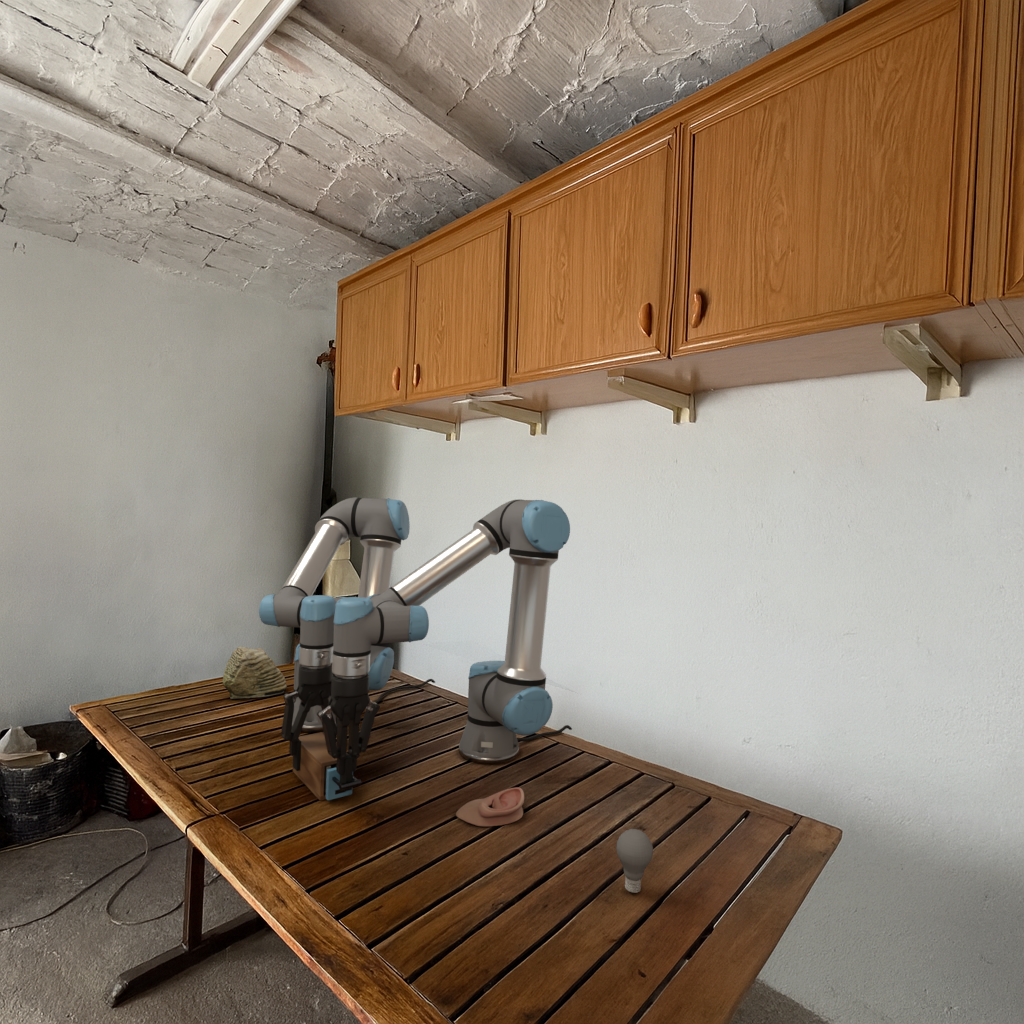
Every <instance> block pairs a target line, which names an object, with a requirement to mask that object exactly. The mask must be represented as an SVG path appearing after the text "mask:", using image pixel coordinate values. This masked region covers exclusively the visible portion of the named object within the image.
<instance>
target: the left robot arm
mask: <svg viewBox="0 0 1024 1024" xmlns="http://www.w3.org/2000/svg"><path fill="white" fill-rule="evenodd" d="M410 525H411V524H410V515H409V511H408V507H407V505H406V504H405V502H404V501H402V500H401V499H392V498H372V497H370V498H368V497H356V496H355V497H348V498H346V499H342V500H341V501H339V502H337V503H336V504H333V505H332V506H331V507H330V508H328V509H327V510H326V511H325V512H324V513H323V514H322V515H321V516H320V518H319V519H318V521H317V522H316V524H315V526H314V534H313V536H312V537H311V539H310V541H309V542H308V544H307V545H306V548H304V551H303V552H302V554H301V556H300V558H299V559H298V561H297V563H296V564H295V565H294V567H293V569H292V571H291V572H290V574H289V576H288V577H287V579H286V580H285V582H284V584H283V585H282V587H281V589H280V590H279V592H278V593H277V594H276V593H273V594H267V595H264V596H263V598H262V599H261V601H260V603H259V608H258V615H259V618H260V621H261V623H262V624H264V625H267V626H272V627H277V628H280V627H281V628H282V627H283V628H284V627H285V628H299V630H300V633H299V643H298V644H297V645H296V647H295V652H294V653H295V654H294V659H293V661H294V672H293V692H291V693H288V692H286V693H283V701H284V710H283V716H282V717H283V719H282V726H281V731H280V732H281V733H280V737H281V738H282V739H283V740H284V741H285V742H289V749H288V753H289V755H291V756H292V769H293V768H294V769H295V770H296V771H299V770H300V763H301V741H300V740H299V739H298V738H299V737H300V736H301V733H319V732H324V731H323V726H322V721H321V720H320V719H319V717H318V716H317V712H318V711H320V710H321V711H323V710H324V709H325V708H327V707H328V703H329V701H330V699H331V680H332V676H333V675H334V674H333V673H332V659H333V643H334V623H333V621H334V616H335V607H336V603H337V601H338V600H340V599H342V598H346V597H347V596H335V597H334V596H331V595H323V594H319V595H318V594H317V595H315V594H314V593H315V592H316V589H317V587H319V584H320V583H321V580H322V579H323V577H324V575H325V573H326V571H327V570H328V568H329V566H330V565H331V562H332V561H333V559H334V557H335V555H336V553H337V551H338V550H339V548H340V546H342V545H344V544H345V543H346V542H347V541H348V539H350V538H360V539H359V543H360V544H361V546H362V547H363V548H364V550H363V558H362V563H361V572H360V580H359V587H358V592H357V593H358V594H357V595H358V596H357V597H364V598H367V597H369V596H371V595H374V594H381V593H383V592H384V591H386V590H387V589H389V588H390V587H391V584H392V575H393V568H394V567H393V566H394V561H395V560H394V559H395V553H396V551H397V550H398V549H400V548H401V547H402V541H405V540H408V538H409V535H410ZM389 644H390V643H379V644H371V653H370V671H369V672H368V673H367V674H368V675H369V691H375V692H377V691H380V690H382V689H383V688H384V687H385V686H386V685H387V684H388V682H389V680H390V677H391V675H392V672H393V668H394V663H395V652H394V649H392V648H391V647H389V646H390V645H389ZM430 682H432V683H433V684H435V683H436V681H435V680H434V679H433V678H428V679H427V680H425V681H424V682H422V683H419V684H413V685H405V686H404V685H403V686H398V687H394V688H391V689H388V690H386V691H385V692H383V693H381V694H380V695H379V696H378V698H377V699H376V700H374V701H373V702H375V703H377V704H378V703H380V702H381V700H382V699H383V697H385V696H386V695H388V694H390V693H392V692H397V691H400V690H408V689H417V688H422V687H424V686H425V685H428V683H430ZM331 715H332V718H331V719H330V720H331V722H332V726H333V731H334V736H335V741H336V742H337V717H336V716H335V715H334V713H333V712H331Z"/></svg>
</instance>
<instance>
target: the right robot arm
mask: <svg viewBox="0 0 1024 1024" xmlns="http://www.w3.org/2000/svg"><path fill="white" fill-rule="evenodd" d="M570 534H571V524H570V518H569V517H568V515H567V513H566V512H565V510H564V509H563V508H562V507H561V506H560V505H559V504H557V503H555V502H553V501H548V500H544V499H513V500H509V501H507V502H505V503H503V504H501V505H499V506H498V507H496V508H494V509H493V510H491V511H490V512H489V513H487V514H486V515H484V516H482V517H481V518H480V519H479V520H477V521H475V522H474V523H473V527H472V529H471V530H469V532H467V533H466V534H464V535H463V536H462V537H460V538H459V539H457V540H456V541H455V542H453V543H451V544H450V545H449V546H447V547H446V548H444V549H443V550H442V551H440V552H438V553H437V554H436V555H434V556H433V557H432V558H431V559H429V560H427V561H426V562H425V563H423V564H422V565H420V566H419V567H418V568H416V569H415V570H413V571H412V572H410V573H409V574H408V575H406V576H405V577H403V578H401V579H400V580H399V581H398V582H396V583H395V584H393V585H392V586H390V588H389V589H387V590H386V591H384V592H383V593H381V594H374V595H371V596H369V597H367V598H364V597H358V596H348V597H347V596H345V597H346V598H342V599H340V600H338V601H337V603H336V607H335V616H334V621H333V623H334V643H333V659H332V673H333V674H334V675H333V676H332V680H331V699H330V701H329V703H328V707H327V708H325V709H324V710H323V711H321V710H320V711H318V712H317V716H318V717H319V719H320V720H321V721H322V726H323V731H322V732H323V733H324V736H325V741H326V746H327V751H328V754H329V755H330V756H331V757H333V758H337V766H336V767H337V768H336V771H337V773H338V774H339V775H340V782H341V783H346V782H350V781H352V774H353V775H354V772H356V771H357V769H358V759H359V758H360V756H361V755H360V754H361V753H365V752H366V751H367V749H368V744H369V741H370V737H371V733H372V730H373V726H374V723H375V718H376V715H377V714H378V713H379V710H380V709H381V706H380V705H379V704H378V703H375V702H374V701H373V700H371V697H370V694H369V691H370V690H369V675H368V674H367V673H368V672H369V671H370V653H371V644H379V643H389V644H391V643H392V644H395V643H412V642H418V641H422V640H424V639H425V638H426V637H427V635H428V632H429V627H430V626H429V625H430V619H429V614H428V611H427V609H426V608H425V607H424V606H422V604H424V603H426V601H427V602H428V601H429V600H430V599H431V598H432V597H434V596H435V595H436V594H438V593H439V592H440V591H442V590H443V589H445V588H446V587H447V586H449V585H450V584H451V583H453V582H454V581H456V580H457V579H458V578H460V577H461V576H463V575H464V574H465V573H467V572H468V571H469V570H471V569H472V568H474V567H475V566H476V565H478V564H479V563H481V562H482V561H483V560H485V559H486V558H487V557H489V556H490V555H493V556H497V555H499V554H500V553H501V552H503V551H505V550H507V549H508V550H509V551H508V556H509V557H510V558H511V560H512V561H513V563H514V564H513V565H514V566H513V575H512V584H511V593H510V606H509V615H508V624H507V625H508V626H507V633H506V634H507V635H506V646H505V655H504V660H484V661H477V662H475V663H472V664H471V666H470V667H469V674H468V689H467V690H468V692H467V693H468V694H467V695H468V696H467V720H466V724H465V726H464V729H463V732H462V735H461V737H460V740H459V744H458V753H459V755H460V757H462V758H463V759H465V760H466V761H469V762H471V763H476V764H482V765H500V764H505V763H509V762H512V761H514V760H515V759H517V757H519V754H520V745H519V742H530V741H533V740H536V739H538V738H542V737H547V736H554V735H560V734H561V733H563V732H564V731H565V730H567V729H568V730H570V731H571V730H573V728H572V727H571V726H570V725H568V724H566V725H564V726H563V727H561V728H560V729H558V730H554V731H546V732H541V733H539V731H541V730H542V728H543V727H545V726H546V724H547V723H548V722H549V720H550V718H551V716H552V713H553V706H554V704H553V699H552V697H551V695H550V693H549V692H548V690H546V684H547V683H546V682H547V673H546V672H545V670H543V668H542V657H543V648H544V639H545V637H544V636H545V629H546V617H547V607H548V597H549V589H550V577H551V567H552V566H553V565H554V564H555V563H557V561H558V560H559V552H560V550H561V549H563V548H564V545H566V544H567V543H568V541H569V538H570ZM331 712H333V713H334V715H335V716H336V717H337V735H336V741H335V736H334V731H333V726H332V722H331V720H330V719H331V718H332V715H331ZM363 713H364V714H363ZM362 714H363V719H362ZM360 724H361V725H360ZM537 732H538V733H537ZM533 734H534V735H533ZM517 735H518V736H529V737H517ZM531 735H532V736H531ZM346 753H347V754H346ZM349 790H352V791H353V788H349V789H345V790H344V791H349Z"/></svg>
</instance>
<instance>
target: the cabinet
mask: <svg viewBox="0 0 1024 1024" xmlns="http://www.w3.org/2000/svg"><path fill="white" fill-rule="evenodd" d="M298 739H299V740H300V741H301V763H300V770H299V771H296V770H295V769H294V768H293V767H292V773H293V774H294V775H295V776H296V777H297V778H298V779H299V780H300V782H302V784H304V785H305V786H306V787H307V789H308V790H309V791H310V792H311V793H312V794H313V795H314V796H315V798H316V799H318V800H319V801H324V800H327V799H326V793H325V792H324V775H325V766H327V765H331V764H336V763H337V758H333V757H331V756H330V755H329V754H328V751H327V746H326V741H325V736H324V732H323V731H319V732H314V733H310V734H304V735H299V738H298ZM346 754H348V752H347V753H346Z"/></svg>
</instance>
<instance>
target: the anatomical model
mask: <svg viewBox="0 0 1024 1024" xmlns="http://www.w3.org/2000/svg"><path fill="white" fill-rule="evenodd" d="M524 803H525V792H524V790H523V789H522V788H521V787H518V786H517V787H511V788H507V789H504V790H501V791H498V792H495V793H493V794H491V795H489V796H487V797H484V798H479V799H478V798H477V799H474V800H473V799H472V800H471V801H468V802H467V803H465V804H463V805H462V806H461V807H459V808H458V810H457V811H456V813H455V817H457V818H458V819H460V820H461V821H464V822H466V823H468V824H471V825H473V826H474V825H475V826H476V827H497V826H503V825H508V824H511V823H515V822H517V821H519V820H520V819H521V818H522V817H523V816H524V808H523V806H524Z"/></svg>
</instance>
